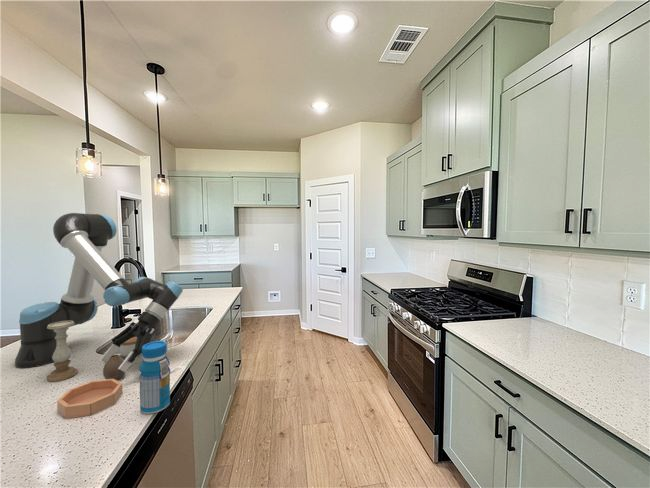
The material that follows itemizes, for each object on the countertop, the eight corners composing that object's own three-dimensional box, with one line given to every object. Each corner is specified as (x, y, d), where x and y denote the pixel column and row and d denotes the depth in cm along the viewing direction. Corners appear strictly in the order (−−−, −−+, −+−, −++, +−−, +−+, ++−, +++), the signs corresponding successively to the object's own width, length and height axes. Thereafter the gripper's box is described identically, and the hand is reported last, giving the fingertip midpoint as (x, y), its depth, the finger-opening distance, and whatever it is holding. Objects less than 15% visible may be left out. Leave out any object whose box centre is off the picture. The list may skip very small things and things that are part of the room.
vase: (108, 385, 101) (107, 361, 101) (99, 380, 105) (99, 356, 104) (129, 377, 107) (129, 354, 106) (121, 372, 110) (120, 350, 110)
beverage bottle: (140, 419, 83) (139, 352, 82) (138, 404, 90) (137, 343, 89) (172, 408, 88) (171, 346, 87) (168, 395, 95) (167, 337, 94)
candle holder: (39, 381, 103) (37, 327, 102) (62, 370, 112) (61, 319, 111) (62, 382, 103) (60, 327, 102) (84, 370, 111) (82, 320, 110)
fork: (141, 388, 101) (141, 383, 101) (185, 362, 120) (185, 358, 120) (148, 389, 100) (148, 384, 100) (191, 363, 119) (191, 359, 119)
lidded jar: (132, 361, 119) (131, 339, 119) (111, 359, 122) (110, 337, 121) (152, 351, 130) (152, 331, 129) (132, 349, 132) (132, 329, 132)
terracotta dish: (51, 407, 88) (51, 396, 88) (107, 384, 101) (107, 375, 101) (72, 423, 81) (71, 411, 81) (129, 397, 94) (129, 387, 94)
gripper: (177, 325, 113) (138, 378, 101) (142, 315, 125) (103, 362, 113) (163, 315, 108) (121, 370, 96) (129, 306, 120) (87, 354, 108)
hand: (111, 366), depth 104 cm, fingers open, 13 cm apart
